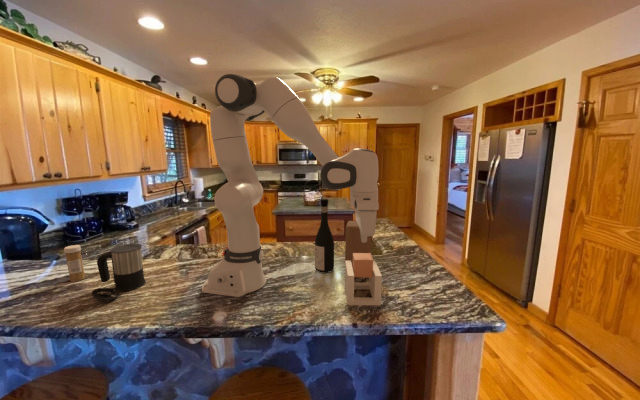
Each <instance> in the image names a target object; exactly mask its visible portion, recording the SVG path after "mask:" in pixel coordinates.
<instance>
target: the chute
mask: <svg viewBox="0 0 640 400" xmlns="http://www.w3.org/2000/svg"><path fill="white" fill-rule="evenodd" d="M382 280H383V276H382V273H381V270H380V269H379V267H378V264H377V262H376V260H373V278H371V277H368V282H355V277H354V272H353V268H352V263H351V261H344V288H345V289H344V290H345V296H346V297H345V298H346V305H347V306H381V305H382V284H383V283H382ZM355 290H369V293H370V296H371V297H360V296H359V297H356V296H355Z"/></svg>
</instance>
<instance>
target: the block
mask: <svg viewBox="0 0 640 400" xmlns="http://www.w3.org/2000/svg"><path fill="white" fill-rule="evenodd" d="M373 261H374V259H373V256H372V253H371V254H370V253H353V266H352V268H353V272H354V278H369V277H371V278H373Z"/></svg>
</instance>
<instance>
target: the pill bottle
mask: <svg viewBox="0 0 640 400" xmlns="http://www.w3.org/2000/svg"><path fill="white" fill-rule="evenodd" d="M63 250H64V251H63V252H64V253H65V259H66V265H67V270H68V274H69V281H70V282H72V283H73V282H80V281H82V280H84V279H85V278H86V275H85V266H84V262H83V257H82V252H81V250H82V248H81V245H80V244H75V245H68V246H65V247H64V248H63Z"/></svg>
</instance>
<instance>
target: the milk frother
mask: <svg viewBox="0 0 640 400" xmlns="http://www.w3.org/2000/svg"><path fill="white" fill-rule="evenodd" d="M142 246H143V245H142V244H140V243H127V244H121V245H117V246H115V247H112V248H110V250H109V251H106V252H104V253H102V254H101V255H99V257H98V258H97V259H96V264H97V269H98V273H99V278H100V281H101V282H102V283H106V282H108V281H109V280H110V279H111V276H110V269H109V265H108V259H111V264H112V272H113V273H112V274H113V275H112V276H113V283H114V287H113V288H112V287H111V288H110V287H102V288H101V287H99V288H96V289H93V290H92V291H91V294H90V295H91V296H92V298H93V299H95V300H97V301H102V302H109V301H113V300H116V299H117V298H119V297H120V292H129V291H132V290H136V289H139V288H141V287H143V286H144V285H145V284H146V279H145V273H144V268H143V267H144V266H143V265H144V264H143V256H142Z"/></svg>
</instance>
